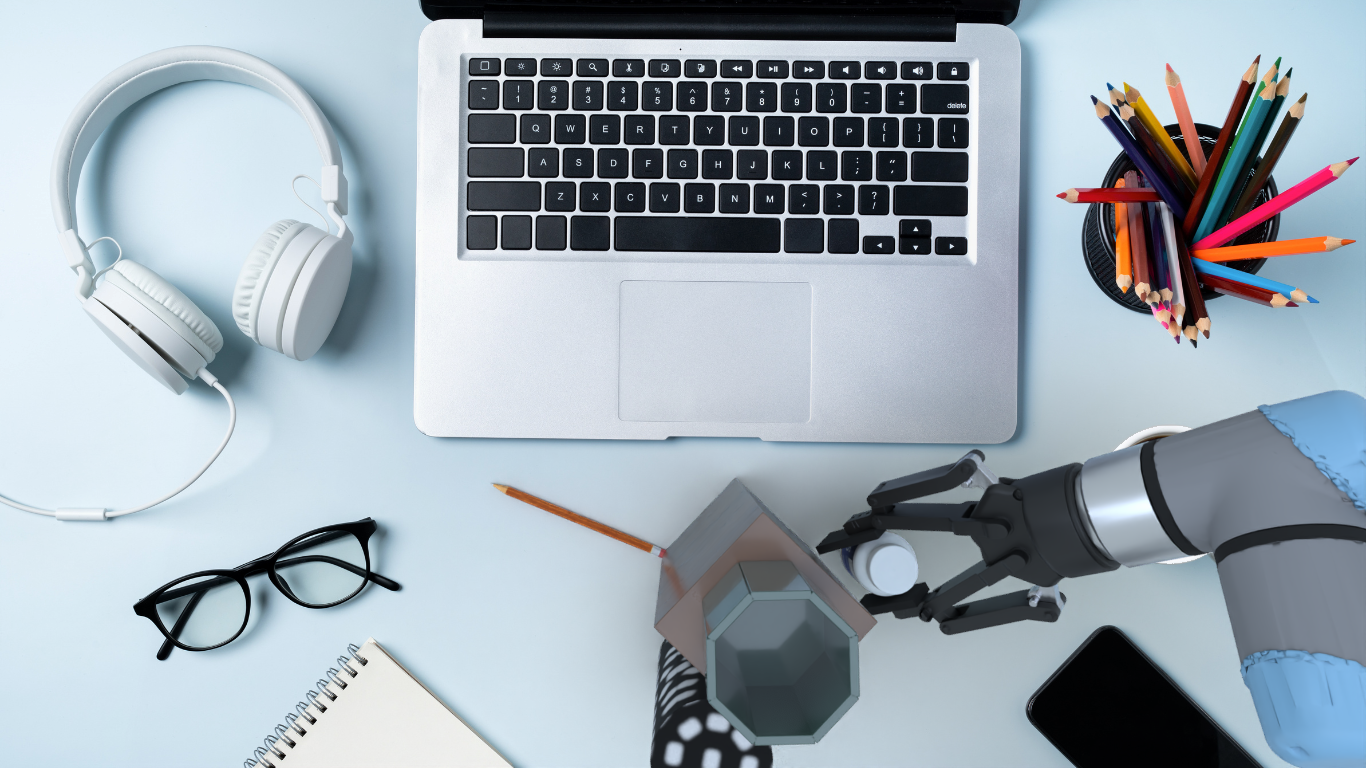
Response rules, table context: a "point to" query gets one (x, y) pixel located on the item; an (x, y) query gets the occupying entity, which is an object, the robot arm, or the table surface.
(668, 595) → the stand
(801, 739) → the cup
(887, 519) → the robot arm
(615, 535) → the pencil
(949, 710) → the table surface
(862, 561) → the pill bottle
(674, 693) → the white-spotted black cylinder
